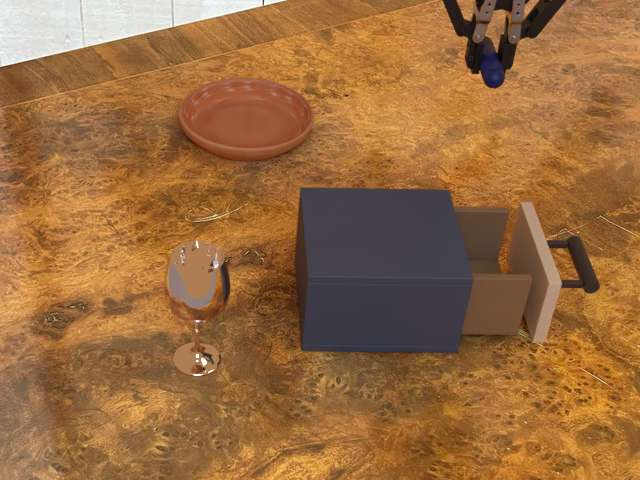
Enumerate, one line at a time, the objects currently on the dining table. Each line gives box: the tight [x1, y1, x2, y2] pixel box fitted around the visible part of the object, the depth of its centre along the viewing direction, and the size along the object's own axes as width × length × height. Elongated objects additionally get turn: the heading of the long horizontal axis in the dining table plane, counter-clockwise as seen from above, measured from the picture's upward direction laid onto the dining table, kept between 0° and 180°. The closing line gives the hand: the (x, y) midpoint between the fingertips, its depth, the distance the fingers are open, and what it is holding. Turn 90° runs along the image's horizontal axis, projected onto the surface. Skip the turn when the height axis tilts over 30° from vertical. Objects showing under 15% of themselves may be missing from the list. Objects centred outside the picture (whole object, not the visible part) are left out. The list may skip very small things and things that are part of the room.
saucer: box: [178, 77, 315, 162], centre depth 127 cm, size 16×16×3 cm
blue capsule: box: [479, 35, 506, 90], centre depth 112 cm, size 9×2×2 cm, turn 0°
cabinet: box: [294, 186, 474, 354], centre depth 102 cm, size 15×14×9 cm
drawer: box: [454, 201, 601, 344], centre depth 102 cm, size 18×12×7 cm
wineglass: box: [163, 240, 231, 377], centre depth 94 cm, size 6×6×12 cm
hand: (487, 70), depth 112 cm, fingers closed on blue capsule, 2 cm apart
